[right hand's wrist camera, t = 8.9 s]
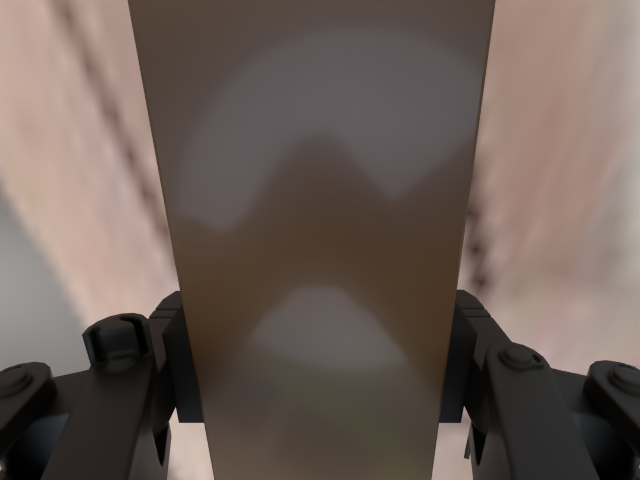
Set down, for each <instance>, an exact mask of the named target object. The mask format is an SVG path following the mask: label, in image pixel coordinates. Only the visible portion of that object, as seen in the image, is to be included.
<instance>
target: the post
mask: <svg viewBox="0 0 640 480" xmlns="http://www.w3.org/2000/svg"><path fill="white" fill-rule="evenodd" d="M128 5H129V10H130V16H131V21H132V27H133V32H134V38H135V43H136V49H137V54H138V60H139V65H140V71H141V76H142V82H143V87H144V93H145V99H146V104H147V110H148V115H149V121H150V126H151V132H152V137H153V143H154V148H155V154H156V159H157V165H158V170H159V176H160V181H161V187H162V192H163V198H164V204H165V209H166V215H167V220H168V226H169V231H170V237H171V242H172V248H173V253H174V259H175V264H176V270H177V275H178V281H179V286H180V292H181V298H182V303H183V309H184V314H185V320H186V325H187V331H188V336H189V342H190V347H191V353H192V358H193V364H194V369H195V375H196V380H197V386H198V392H199V397H200V403H201V408H202V414H203V419H204V425H205V430H206V436H207V441H208V447H209V452H210V458H211V463H212V469H213V474H214V480H431V478H432V470H433V463H434V455H435V448H436V441H437V433H438V426H439V418H440V411H441V403H442V396H443V388H444V381H445V373H446V366H447V358H448V351H449V344H450V336H451V329H452V321H453V314H454V306H455V299H456V291H457V284H458V276H459V269H460V261H461V254H462V247H463V239H464V232H465V224H466V217H467V209H468V202H469V194H470V187H471V179H472V172H473V165H474V157H475V150H476V142H477V135H478V127H479V120H480V112H481V105H482V97H483V90H484V82H485V75H486V68H487V60H488V53H489V45H490V38H491V30H492V23H493V15H494V8H495V0H128Z"/></svg>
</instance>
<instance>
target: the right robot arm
mask: <svg viewBox="0 0 640 480" xmlns="http://www.w3.org/2000/svg"><path fill="white" fill-rule="evenodd" d="M82 336H83V340H84V343H85V347H86V350H87V353H88V357H89V360H90V364H91V366H90V368H89V370H85V371H82V372H77V373H72V374H67V375H63V376H58V377H53V375H52V372H51V369H50V367H49V366H48V365H46V364H45V363H40V362H30V363H23V364H19V365H15V366H12V367H9V368H6V369H4V370H3V371H1V372H0V465H1V467H2V470H1V471H0V480H167V473H168V464H169V454H170V445H171V430H170V425H169V420H170V418H171V416H172V414H173V411H174V409H175V407H176V410H177V415H178V420H179V423H204V419H203V414H202V408H201V403H200V397H199V392H198V386H197V380H196V375H195V369H194V364H193V358H192V353H191V347H190V342H189V336H188V331H187V325H186V320H185V314H184V309H183V303H182V298H181V292H180V291H175V292H174V293H172V294H171V295H169V296H167V297H166V298H164V299H163V300H162V301H161V303H160V304H159V305H158V306H157V308H156V310H155V311H153V313H152V314H151V315H150V316H149V319H147V318H146V317H144V316H143V315H141V314H136V313H124V314H118V315H114V316H110V317H107V318H105V319H102V320H100V321H98V322H96V323H95V324H93V325H91V326H90V327H88V328H87V330H86V331H85V332H84V333H83V334H82ZM464 406H465V408H466V410H467V412H468V415H469V417H470V419H471V425H470V430H469V434H468V439H467V444H466V449H465V455H464V458H466V459H469V456H470V453H471V463H472V472H473V480H640V469H639V468H638V466H639V464H640V370H639V369H637V368H635V367H633V366H630V365H628V364H627V365H626V364H624V363H620V362H614V361H607V360H604V361H596V362H594V363H593V364H592V365H590V368H589V371H588V373H587V376H585V375H580V374H575V373H570V372H565V371H561V370H556V369H553V368H550V366H549V364H548V363H547V361H546V360H545V358H544V357H543V356H541V355H540V354H539V353H537V352H536V351H535V350H533V349H531V348H528V347H526V346H524V345H521V344H518V343H514V342H511V340H510V339H509V338H508V337H507V335H506V334H505V333H504V332H503V330H502V329H501V328H500V327H499V325H498V324H497V323H496V322H495V320H494V319H493V318H491V315H490V314H489V313H488V312H487V310H486V309H484V307H483V305H482V304H481V303H480V302H479V300H478V299H477V298H476V297H474V296H473V295H471V294H470V293H468V292H466V291H465V290H457V291H456V299H455V306H454V314H453V321H452V329H451V336H450V344H449V351H448V358H447V366H446V373H445V381H444V388H443V396H442V403H441V411H440V418H439V423H461V418H462V413H463V408H464Z"/></svg>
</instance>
